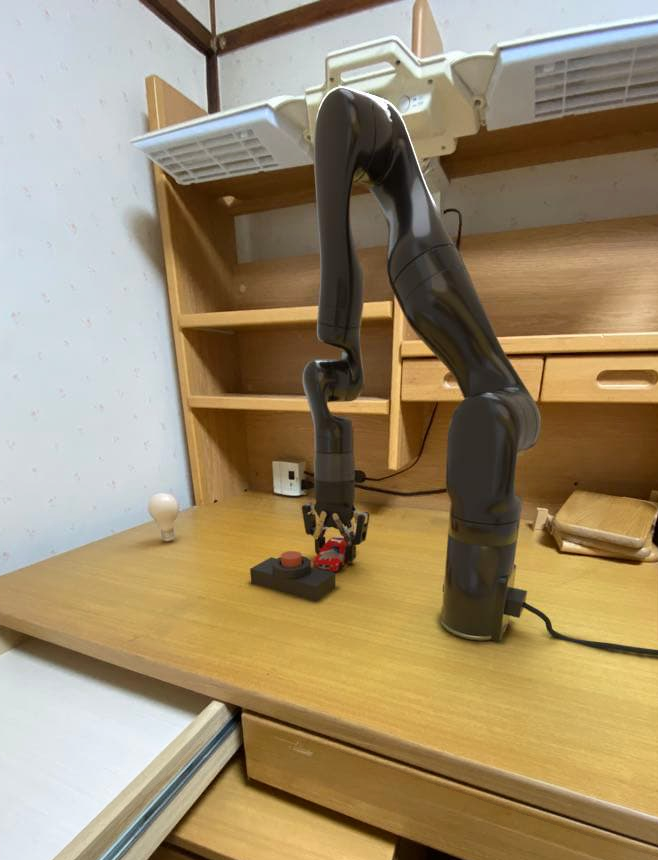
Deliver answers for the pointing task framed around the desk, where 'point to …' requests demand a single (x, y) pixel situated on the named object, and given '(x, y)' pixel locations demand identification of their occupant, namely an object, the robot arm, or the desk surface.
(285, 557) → the dock button
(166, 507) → the lightbulb
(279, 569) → the button base
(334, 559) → the race car
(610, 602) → the desk surface
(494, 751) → the desk surface
